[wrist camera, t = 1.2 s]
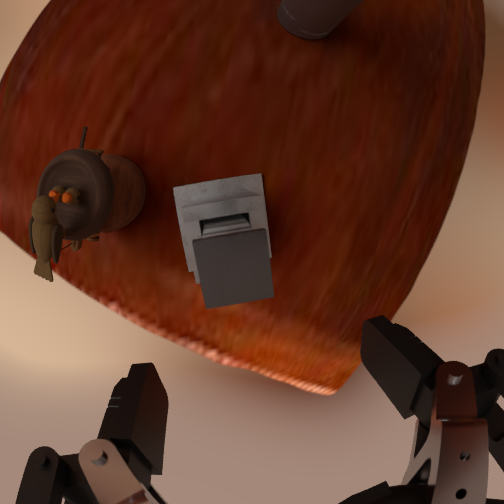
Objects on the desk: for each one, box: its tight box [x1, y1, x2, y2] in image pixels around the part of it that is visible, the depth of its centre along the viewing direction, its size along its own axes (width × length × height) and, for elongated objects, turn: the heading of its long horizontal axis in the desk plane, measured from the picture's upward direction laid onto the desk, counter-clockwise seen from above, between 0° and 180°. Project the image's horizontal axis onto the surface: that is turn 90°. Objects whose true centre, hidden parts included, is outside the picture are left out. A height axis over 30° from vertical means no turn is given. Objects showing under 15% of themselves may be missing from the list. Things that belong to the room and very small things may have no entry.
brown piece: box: [29, 126, 146, 282], centre depth 25 cm, size 15×11×20 cm
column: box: [192, 213, 274, 309], centre depth 28 cm, size 5×5×19 cm
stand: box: [173, 174, 272, 284], centre depth 32 cm, size 12×12×12 cm
